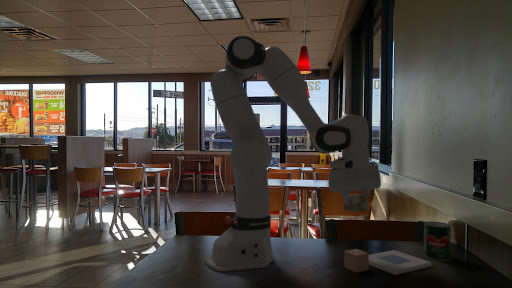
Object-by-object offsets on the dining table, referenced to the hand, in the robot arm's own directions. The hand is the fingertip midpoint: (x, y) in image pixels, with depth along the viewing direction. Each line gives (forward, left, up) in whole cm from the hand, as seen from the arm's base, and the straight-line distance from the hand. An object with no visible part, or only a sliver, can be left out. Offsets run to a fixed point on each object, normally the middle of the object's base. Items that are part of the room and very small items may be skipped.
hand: (356, 203), depth 113 cm
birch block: (0, 0, -2) cm, 2 cm away
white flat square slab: (+6, -10, -18) cm, 21 cm away
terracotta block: (-8, -8, -18) cm, 21 cm away
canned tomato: (+24, -12, -18) cm, 32 cm away
